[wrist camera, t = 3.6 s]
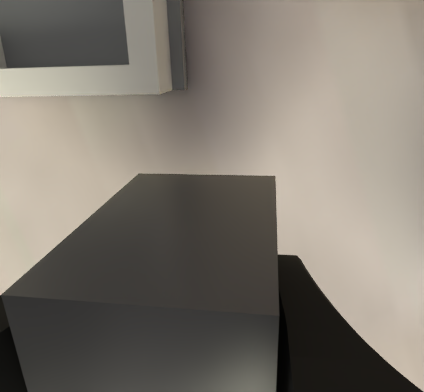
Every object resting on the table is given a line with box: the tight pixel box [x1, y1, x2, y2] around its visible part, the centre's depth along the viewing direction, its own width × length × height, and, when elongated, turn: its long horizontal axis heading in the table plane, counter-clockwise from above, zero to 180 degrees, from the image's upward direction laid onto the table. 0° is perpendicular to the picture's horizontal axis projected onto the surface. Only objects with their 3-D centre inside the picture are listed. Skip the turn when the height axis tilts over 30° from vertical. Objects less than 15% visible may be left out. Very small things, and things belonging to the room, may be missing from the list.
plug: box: [1, 174, 279, 392], centre depth 9 cm, size 4×7×6 cm, turn 2°
